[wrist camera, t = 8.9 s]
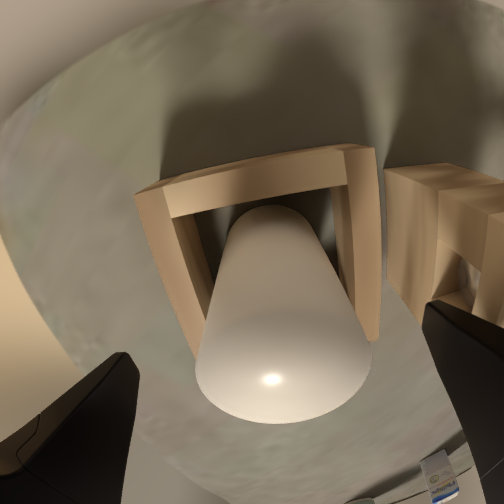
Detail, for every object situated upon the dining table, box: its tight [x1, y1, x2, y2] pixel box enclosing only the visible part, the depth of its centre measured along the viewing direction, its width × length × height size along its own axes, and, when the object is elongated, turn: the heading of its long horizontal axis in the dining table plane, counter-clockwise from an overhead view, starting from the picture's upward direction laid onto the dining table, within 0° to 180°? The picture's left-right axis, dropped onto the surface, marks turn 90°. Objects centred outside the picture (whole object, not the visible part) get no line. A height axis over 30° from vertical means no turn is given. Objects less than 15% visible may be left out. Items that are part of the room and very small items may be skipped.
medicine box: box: [420, 449, 459, 504], centre depth 24 cm, size 8×4×9 cm, turn 34°
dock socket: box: [134, 143, 504, 361], centre depth 10 cm, size 14×9×8 cm, turn 102°
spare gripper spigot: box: [195, 205, 372, 424], centre depth 10 cm, size 4×4×8 cm
